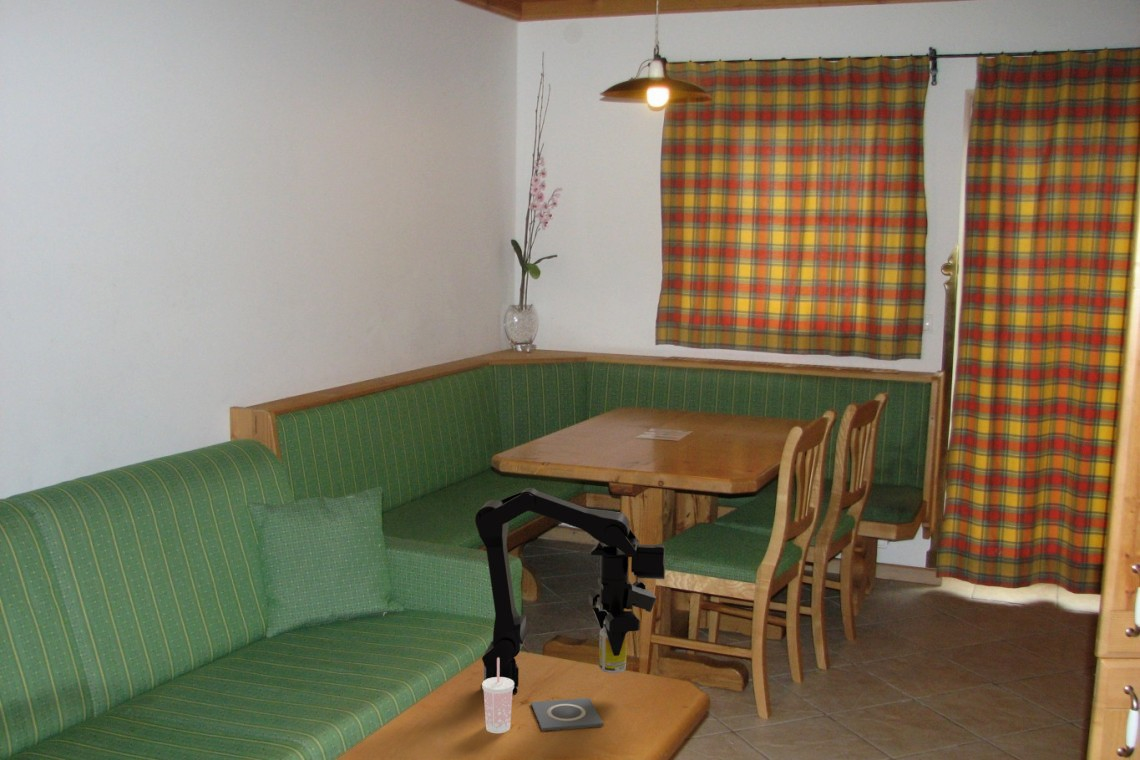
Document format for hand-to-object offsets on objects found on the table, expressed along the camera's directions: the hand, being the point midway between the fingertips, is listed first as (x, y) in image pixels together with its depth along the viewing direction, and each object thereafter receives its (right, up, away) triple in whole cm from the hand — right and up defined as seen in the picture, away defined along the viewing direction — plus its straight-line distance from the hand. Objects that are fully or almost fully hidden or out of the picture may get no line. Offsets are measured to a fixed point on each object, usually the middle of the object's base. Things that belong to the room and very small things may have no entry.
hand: (612, 650), depth 224 cm
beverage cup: (-22, -12, -14) cm, 29 cm away
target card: (-9, -11, -8) cm, 16 cm away
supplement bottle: (0, -4, +1) cm, 4 cm away
